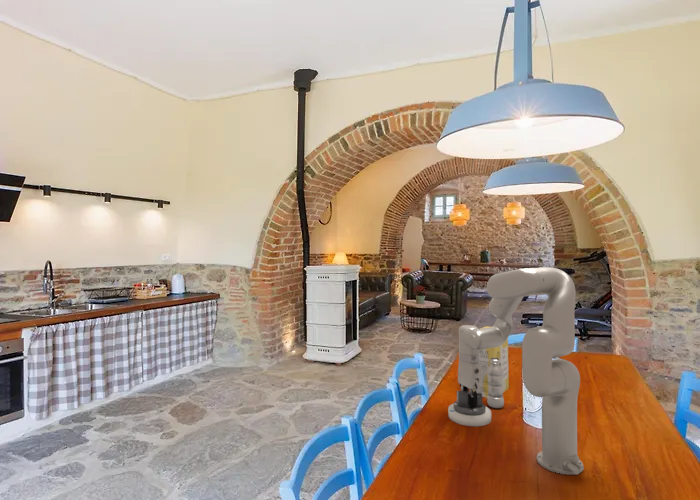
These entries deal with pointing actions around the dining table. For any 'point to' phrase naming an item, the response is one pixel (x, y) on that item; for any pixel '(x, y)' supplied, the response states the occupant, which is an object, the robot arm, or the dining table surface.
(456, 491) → the dining table surface
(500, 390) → the plastic bottle
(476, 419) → the dial housing
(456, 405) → the dial knob
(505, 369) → the pasta box
